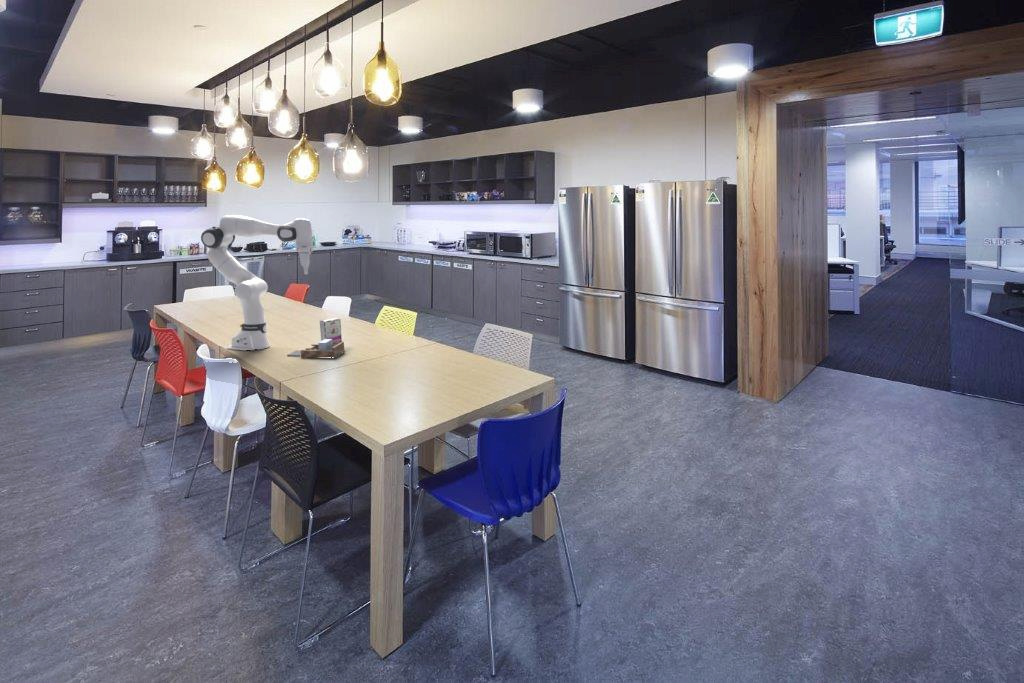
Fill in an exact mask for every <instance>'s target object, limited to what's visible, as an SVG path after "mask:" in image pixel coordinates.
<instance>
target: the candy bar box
mask: <svg viewBox="0 0 1024 683" xmlns="http://www.w3.org/2000/svg"><path fill="white" fill-rule="evenodd" d="M341 322H342V321H341V318H337V317H334V318H333V317H332V318H327V319H321V320H319V329H320V330H319V332H320V341H322V340H324V339H332V340H333V345H337V344H339V343H341V342H343V340H342V324H341Z"/></svg>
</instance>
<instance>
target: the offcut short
mask: <svg viewBox="0 0 1024 683" xmlns="http://www.w3.org/2000/svg"><path fill="white" fill-rule="evenodd" d="M304 350H315V346H311V345H309V346H307V347H305V348H304Z"/></svg>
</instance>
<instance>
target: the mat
mask: <svg viewBox="0 0 1024 683" xmlns="http://www.w3.org/2000/svg"><path fill="white" fill-rule="evenodd" d="M300 355H301V350H299V349H297V350H296V349H295V351H293V352H290V353H289V354H287V357H301V356H300Z"/></svg>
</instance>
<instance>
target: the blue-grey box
mask: <svg viewBox="0 0 1024 683" xmlns="http://www.w3.org/2000/svg"><path fill="white" fill-rule="evenodd" d="M318 346H319V350H324V351H332V347H333V340H332V339H324V340H322V341H321V340H320V341H319V342H318Z"/></svg>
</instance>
